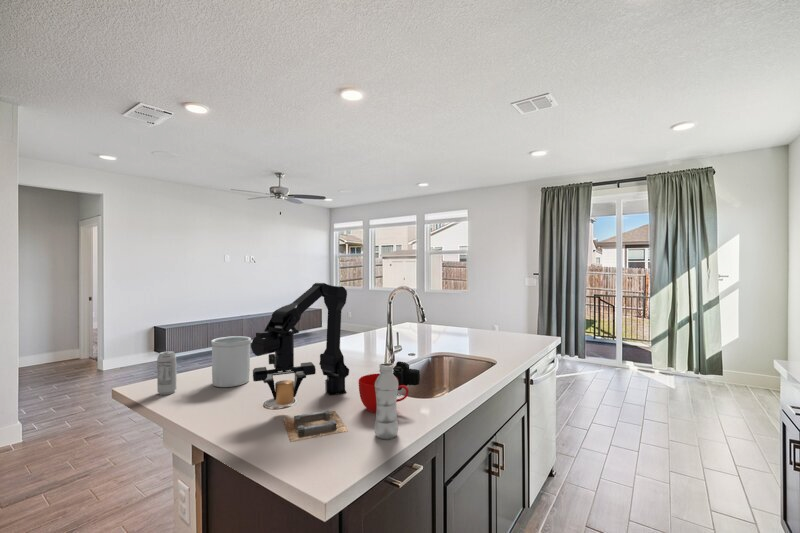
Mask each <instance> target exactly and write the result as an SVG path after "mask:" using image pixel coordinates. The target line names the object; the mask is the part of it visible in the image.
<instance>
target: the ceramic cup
mask: <svg viewBox="0 0 800 533" xmlns="http://www.w3.org/2000/svg"><path fill="white" fill-rule="evenodd" d="M379 375H380V373H371V374H366V375H363V376H361V377H360V378H359V379H358V391H359V397H360V400H361V402H362V405H363V406H364V407H365V408H366V409H367V410H368V412H371V413H374V414H376V411H377V403H376V392H375V381H376V379H377V377H378V376H379ZM395 377H396V376H395ZM396 379H397V380H398V378H397V377H396ZM399 388H402V389H404V390H405V395H404V396H402V397H401V398H397V401H396V403H398V402H402V401H404V400H405V399H406V398H407V397H408V395H409V387H407V386H405V385H400V386H398V389H399Z"/></svg>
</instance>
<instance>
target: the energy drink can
mask: <svg viewBox="0 0 800 533" xmlns="http://www.w3.org/2000/svg"><path fill="white" fill-rule="evenodd" d="M156 359H157V361H156V363H157V366H156V367H157V368H156V369H157V370H156V371H157V372H156V374H157V376H156V378H157V390H156V391H157V393H158V394H159V395H161V396H165V395H166V396H167V395H171V394H174V393H175V391H176V390H177V355H176V353H175V351H174V350H173V351H172V350H169V351H168V350H167V351H166V350H165V351H162V352H159V353H158V356H157V358H156Z"/></svg>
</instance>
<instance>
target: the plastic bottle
mask: <svg viewBox="0 0 800 533" xmlns="http://www.w3.org/2000/svg"><path fill="white" fill-rule="evenodd" d="M393 368H394V364H393V363H390V362H386V363H385V362H384V363H380V364H379V370H378V371H379V372H378V373H379V374H380V375H379V376H378V377H377V379H376V381H375V392H376V403H377V411H376V413H375V414H376V415H375V422H374V425H373V430H374V434H375V436H376V437H377V438H378V439H380V438H381V439H380V440H391V439H390V438H392V439H394V438H395V437H397V435H398V433H399V420H398V417H397V416H398V415H397V402H396V401H397V399H398V398H397V397H398V380H397V379H396V377H395V376H394V374H393V371H394V370H393ZM393 437H394V438H393Z"/></svg>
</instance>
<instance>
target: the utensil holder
mask: <svg viewBox="0 0 800 533" xmlns="http://www.w3.org/2000/svg"><path fill="white" fill-rule="evenodd" d="M210 343H211V377H212V379H211V380H212V382H211V383H212V385H213V386H214V387H216V388H217V387H218V388H231V387H232V388H233V387H239V386H241V385H244V384H246V383H248V382H249V381H250V370H251V369H250V368H251V343H252V338H251V337H249V336H243V335H242V336H239V335H238V336H237V335H234V336H225V337H224V336H223V337H217V338H214V339H212V340H211V341H210Z"/></svg>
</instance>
